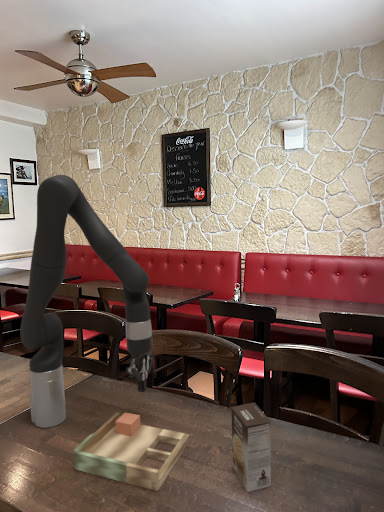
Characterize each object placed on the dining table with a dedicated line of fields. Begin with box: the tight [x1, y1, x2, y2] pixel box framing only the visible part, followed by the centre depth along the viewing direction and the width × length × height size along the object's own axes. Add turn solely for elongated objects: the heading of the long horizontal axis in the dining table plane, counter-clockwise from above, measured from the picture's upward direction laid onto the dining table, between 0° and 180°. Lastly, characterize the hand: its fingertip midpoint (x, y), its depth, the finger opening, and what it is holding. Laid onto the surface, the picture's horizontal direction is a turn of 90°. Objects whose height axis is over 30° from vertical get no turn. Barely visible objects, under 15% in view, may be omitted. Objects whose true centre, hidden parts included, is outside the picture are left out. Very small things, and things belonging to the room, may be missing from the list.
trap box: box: [73, 411, 191, 492], centre depth 101 cm, size 23×20×5 cm
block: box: [115, 412, 142, 437], centre depth 109 cm, size 5×5×4 cm
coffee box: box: [231, 402, 272, 493], centre depth 90 cm, size 9×6×16 cm
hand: (142, 390), depth 115 cm, fingers closed
